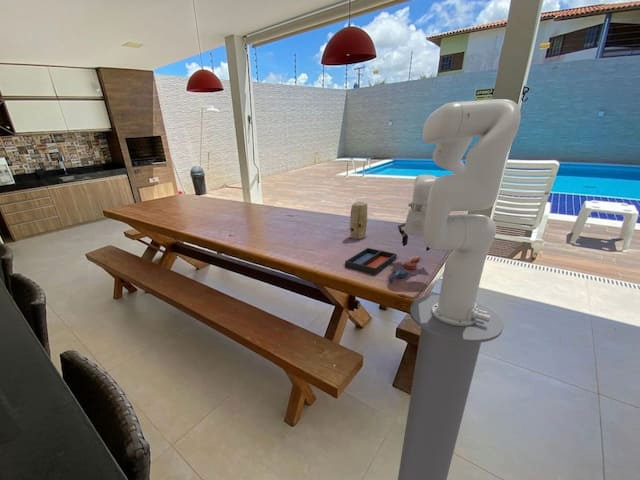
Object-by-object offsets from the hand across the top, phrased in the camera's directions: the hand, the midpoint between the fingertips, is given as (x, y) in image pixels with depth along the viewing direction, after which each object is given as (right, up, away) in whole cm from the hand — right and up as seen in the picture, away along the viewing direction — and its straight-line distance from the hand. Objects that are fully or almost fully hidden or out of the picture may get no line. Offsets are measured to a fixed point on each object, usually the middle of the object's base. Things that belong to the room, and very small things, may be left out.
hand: (416, 247), depth 129 cm
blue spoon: (-12, -13, -10) cm, 21 cm away
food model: (-16, +7, +36) cm, 40 cm away
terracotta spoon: (-1, -7, +1) cm, 8 cm away
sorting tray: (-18, -7, +5) cm, 20 cm away
